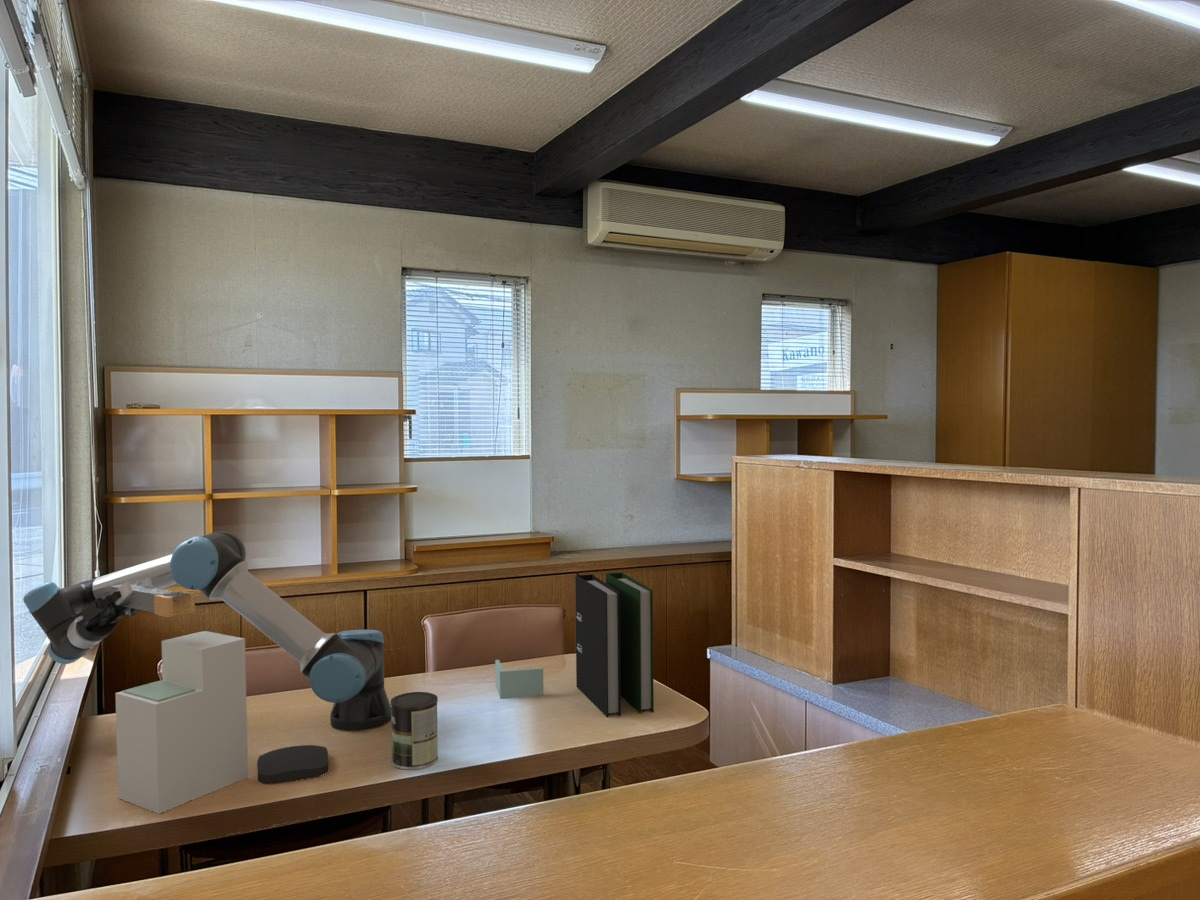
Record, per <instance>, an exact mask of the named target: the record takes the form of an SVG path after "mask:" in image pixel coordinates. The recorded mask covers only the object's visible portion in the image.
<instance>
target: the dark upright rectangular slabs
mask: <svg viewBox="0 0 1200 900" xmlns="http://www.w3.org/2000/svg"><path fill="white" fill-rule="evenodd" d="M574 577H575V578H574V579H575V584H574V585H575V587H574V588H575V658H576V659H575V663H576V665H575V667H576V669H575V670H576V671H575V673H576V675H575V676H576V678H575V679H576V682H575V683H576V688H577V689H578V690H579V691H580V692H581V693H582V694H583V696H585V697H586V698H587V699H588V700H589V701H590V703H592V704H593V705H594V706H595V707H596V708H597V709H598V710H599V711H600V712H601V713H602V714H603V715H604V716H605V717H606V718H609V714H615V713H616V714H617V716H619V717H622V714H621V713H622V710H621V709H622V708H621V707H622V705H621V702H622V700H624V701H625V702H626V703H628V704H629V705H630V706H631V707H632V708H633V709H634V710H635V711H636V712H638V714H641V715H642V711H643V710H649V711H650V712H651V713H654V710H655V709H654V701H655V699H654V611H653V610H654V601H653V600H654V599H653V598H654V594H653V591H654V590H653V588H650V587H649V586H647V585H646V584H643V583H642V582H639V581H638V580H637V579H634V578H632V577H631V576H629V575H628V574H626V573H624V572H609V573H608V572H607V573H605V581H603V580H602V579H601V578H599V577H597V576H596V575H594V574H578V575H576V574H575V575H574Z"/></svg>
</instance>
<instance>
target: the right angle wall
mask: <svg viewBox="0 0 1200 900" xmlns="http://www.w3.org/2000/svg"><path fill="white" fill-rule="evenodd" d="M494 662H495V669H494V670H495V688H496V691H497V693H498V696H499V699H500V700H502V699H504V700H505V699H512V698H513V699H515V698H526V697H527V698H528V697H538V696H539V697H540V696H544V694H545V693H544V692H545V691H544V686H545V685H544V668H543V667H536V668H535V667H532V668H522V669H521V668H520V669H507V670H504V668H503V666H502V663H501V661H500V659H495V661H494Z"/></svg>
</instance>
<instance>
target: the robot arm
mask: <svg viewBox="0 0 1200 900" xmlns="http://www.w3.org/2000/svg"><path fill="white" fill-rule="evenodd" d="M246 554H247V552H246V546H245V544H244V543H243V541H242V540H241V538H239V537H238V536H237V535H236V534H234V533H233V532H232V533H231V532H228V531H222V530H221V531H213V532H211V533H207V534H204V535H201V536H194V537H190V538H188V539H187V540H185V541H183V542H181V543H180V544H179V545H177V547H176V548H175V549H174V551H173V552H172V553H171V554H168V555H165V556H162V557H158V558H155V559H152V560H149V561H145V562H143V563H142V562H141V563H140V564H136V565H133V566H129V567H127V568H123V569H120V570H117V571H113V572H109V573H108V574H105V575H102V576H99V577H95V578H92V579H91V578H90V579H88V580H84V581H81V582H79V583H75V584H72V585H70V586H66V587H62V588H61V587H60V586H58V585H57V584H56V583H55V582H53V581H47V582H45V583H42V584H40V585H38V586H36V587H34V588H32V589H31V590H29V591H28V592H27V593H26V594H25V595H24V596H23V599H22V601H23V603H24V604H25V606H26V607H27V609H28V613H29V614H30V615H32V617H33V619H34V620H35V621H36V623H37V624H38V626H39V627H40V628H41V630H42V631H43V633H44V634H45V635H46V638H48V640H49V642H50V643H49V644H48V655H49V657H50V659H51V660H52V661H54V662H56V663H58V664H62V665H70V664H72V663H75V662H76V661H78V660H80V659H81V658H82V657H85V656H86V655H87V654H88V652H89V651H91V650H93V649H94V648H95V646H96V645H98V644H99V643H100V642H101V641H102V640H103V639H105V638H107V637H108V636H109V635H110V634H112V632H113V631H114V629H115V628H116V627H117V622H118V621H119V620H121V619H122V618H123V617H124V616H125V615H126V616H127V615H128V616H131V617H134V616H136V615H137V613H138V611H139V610H138V609H133V608H128V607H123V606H118V605H119V604H120V603H122V602H123V601H124V600H125V599H126V598H127V597H129V596H130V595H131V594H132V593H133V591H132V588H131V585H130V584H134V585H140V586H145V587H152V588H158V589H165V588H168V587H171V586H174V585H179V586H180V587H181V588H182V589H185V590H192V591H197V590H198V591H199V592H200V593H202V595H203V596H205V597H207V598H208V599H209V600H211V601H215V600H216V601H217V600H221V601H223V602H224V603H225V604H227V606H229V607H230V608H231V609H233V610H234V612H237V614H239V615H241V617H243V619H245V620H246V621H247V622H249V623H250V624H252V626H254V628H256V629H258V630H259V631H260V632H261V633H262V634H264V635H265V637H268V638H269V639H270V640H271V641H273V643H275V644H276V645H277V646H279V647H280V648H281V649H282V650H284V651H285V652H286V653H287V654H289V656H291V657H292V658H293V659H294V660H296V661H297V662H298V663H299V664H300V673H301V674H302V675H304V676H305V677H306V679H308V680H309V683H310V688H311V690H312V692H313V693H314V695H315V696H316V697H318V698H319V699H320V700H322V701H324V702H327V703H333V704H332V708H331V711H330V715H329V716H330V717H329V719H330V721H329V722H330V723H329V724H330V726H331V727H332V728H334V729H336V730H343V731H349V732H350V731H363V730H364V731H365V730H371V729H374V728H376V729H377V728H379V727H381V726H384V725H386V724H388V723H389V722H391V721H392V720H391V702H390V701H389V698H388V697H389V696H388V695H387V691H386V690H385V689H386V687H385V649H384V648H385V641H384V634H383V633H382V631H380V630H376V629H353V630H352V629H351V630H343V631H339V632H337V633H336V632H331V633H330V632H329V633H326V632H324V631H323V630H321V629H320V628H319V627H318V626H316V625H315V624H314V623H313V622H311V621H310V620H309V619H307V617H305V616H304V615H303V614H301V613H300V612H299V611H298V610H297V609H295V608H294V607H293V606H292V605H290V604H289V603H288V602H287V601H286V600H284V599H283V598H282V597H280V595H278V594H277V593H276V592H274V591H273V590H272V589H271V588H269V587H268V586H267V585H266V584H264V583H263V582H262V581H261V580H259V579H258V578H257V577H256V576H254V575H253V574H252V573H251V572H250V571H249V567H248V562H247V560H246V556H247V555H246ZM121 584H123V585H122V586H121V587H120V588H119V589H117V590H116V591H115V592H114V593H112V594H111V595H110V586H115V585H121ZM114 603H115V604H116V605H115V604H114Z"/></svg>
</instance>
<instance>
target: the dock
mask: <svg viewBox="0 0 1200 900" xmlns="http://www.w3.org/2000/svg"><path fill="white" fill-rule="evenodd" d="M246 663H247V662H246V638H245V637H244V638H243V637H238V636H233V635H229V634H228V635H227V634H224V633H217V632H212V631H207V630H203V631H197V632H194V633H189V634H186V635H181V636H177V637H172V638H168V639H163V640H161V667H162V669H161V671H162V672H161V673H162V674H161V675H162V680H160V679H159V680H156V681H153V682H149V683H147V684H146V683H145V684H142V685H138V686H134V687H131V688H128V689H125V690H124V689H123V690H122V691H119V692H115V694H114V695H115V722H116V723H115V725H116V726H115V728H116V757H117V758H116V760H117V761H116V763H117V797H118V799H120V800H121V799H122V801H124V802H126V801H127V803H129V802H130V803H129V804H132V805H134V804H135V805H134V806H138V807H139V806H140V807H139V808H142V807H143V808H142V809H144V808H145V810H147V809H148V810H147V811H150V812H152V811H153V813H155V812H156V814H157V813H158V814H157V815H160V814H163V813H165V812H168V811H170V810H172V809H175V808H177V807H179V805H180V806H181V804H182V805H184V803H185V804H187V803H189V802H188V801H190V800H192V801H194V800H196V798H197V799H199V798H202V797H204V796H206V795H208V793H209V794H211V793H213V791H214V792H216V791H218V789H219V790H221V789H223V788H226V787H228V786H231V785H233V784H236V783H238V782H240V781H242V780H243V781H244V780H245V779H248V778H249V761H248V760H249V759H248V758H249V756H248V755H249V754H248V748H249V747H248V717H247V716H248V715H247V714H248V712H247V711H248V710H247V677H246V676H247V674H246V673H247V669H246V668H247V667H246V666H247V665H246ZM237 781H238V782H237ZM235 782H236V783H235ZM225 786H226V787H225ZM205 794H206V795H205ZM203 795H204V796H203ZM201 796H202V797H201ZM198 797H199V798H198ZM193 799H194V800H193ZM186 802H187V803H186ZM190 802H191V801H190ZM167 810H168V811H167ZM162 812H163V813H162Z"/></svg>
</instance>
